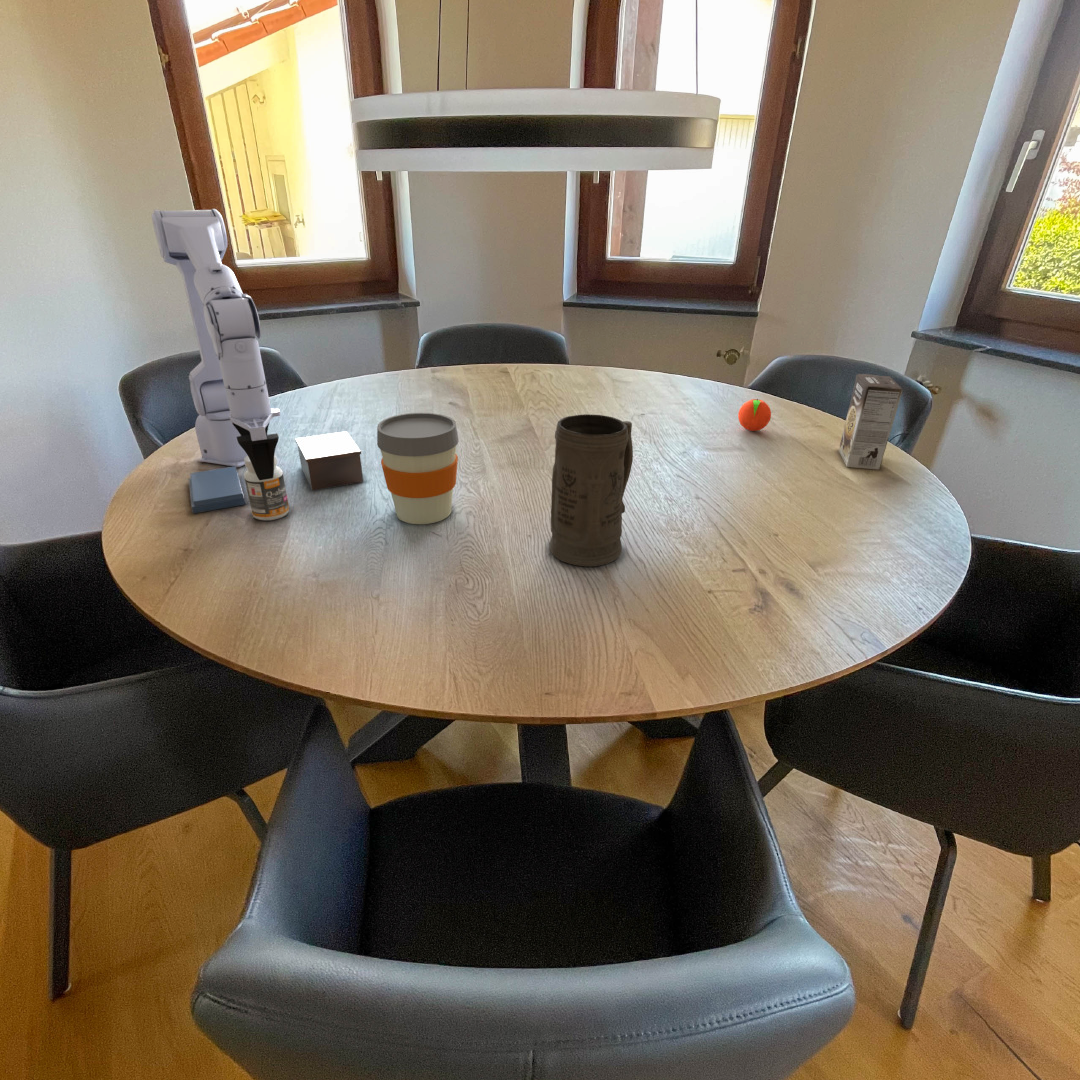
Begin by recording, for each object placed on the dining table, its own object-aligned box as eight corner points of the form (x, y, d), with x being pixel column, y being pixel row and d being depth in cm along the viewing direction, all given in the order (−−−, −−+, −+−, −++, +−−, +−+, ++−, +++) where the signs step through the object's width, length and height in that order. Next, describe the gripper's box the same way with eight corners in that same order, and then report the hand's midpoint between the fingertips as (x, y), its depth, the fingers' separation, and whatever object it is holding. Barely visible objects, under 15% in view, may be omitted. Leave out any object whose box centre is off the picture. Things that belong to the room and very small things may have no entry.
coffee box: (836, 450, 136) (855, 373, 128) (870, 453, 135) (891, 375, 127) (845, 467, 128) (866, 385, 120) (880, 470, 127) (904, 387, 119)
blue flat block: (193, 513, 107) (190, 502, 106) (190, 484, 117) (187, 473, 116) (245, 504, 110) (243, 493, 109) (238, 476, 120) (236, 466, 119)
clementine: (767, 438, 142) (773, 406, 139) (734, 434, 144) (739, 403, 140) (768, 427, 149) (774, 396, 145) (737, 423, 151) (742, 393, 147)
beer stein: (598, 577, 91) (612, 438, 83) (533, 556, 96) (540, 422, 88) (643, 540, 103) (659, 414, 95) (583, 522, 108) (593, 402, 100)
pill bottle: (278, 523, 104) (266, 465, 99) (245, 519, 105) (232, 462, 100) (296, 508, 109) (286, 452, 104) (265, 504, 110) (253, 449, 105)
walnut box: (311, 491, 115) (305, 459, 112) (300, 468, 124) (295, 438, 121) (364, 482, 119) (360, 451, 116) (350, 460, 128) (346, 431, 125)
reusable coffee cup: (439, 535, 102) (433, 443, 94) (370, 521, 105) (358, 432, 98) (474, 502, 112) (471, 417, 105) (409, 491, 116) (402, 408, 108)
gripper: (281, 393, 93) (296, 482, 99) (267, 370, 104) (282, 450, 111) (227, 399, 90) (247, 490, 97) (219, 375, 101) (237, 457, 108)
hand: (262, 469), depth 103 cm, fingers open, 7 cm apart
